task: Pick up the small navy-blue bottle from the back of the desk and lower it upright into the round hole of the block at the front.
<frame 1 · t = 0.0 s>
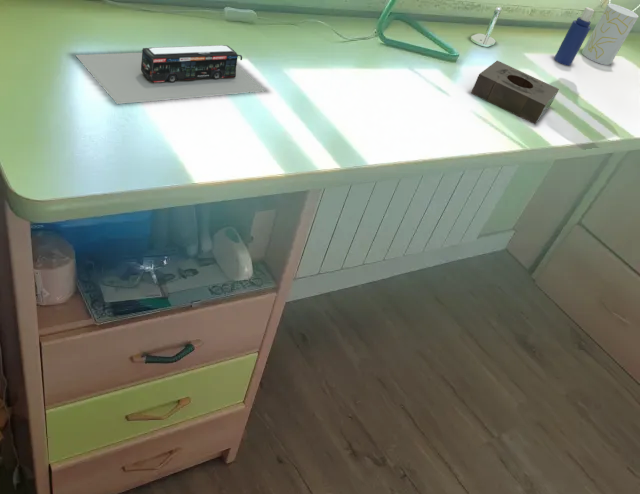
bottle: (562, 61, 150), on the table
stand: (482, 41, 146), on the table
block: (510, 100, 122), on the table
grey square mat: (174, 75, 94), on the table
cup: (595, 58, 160), on the table
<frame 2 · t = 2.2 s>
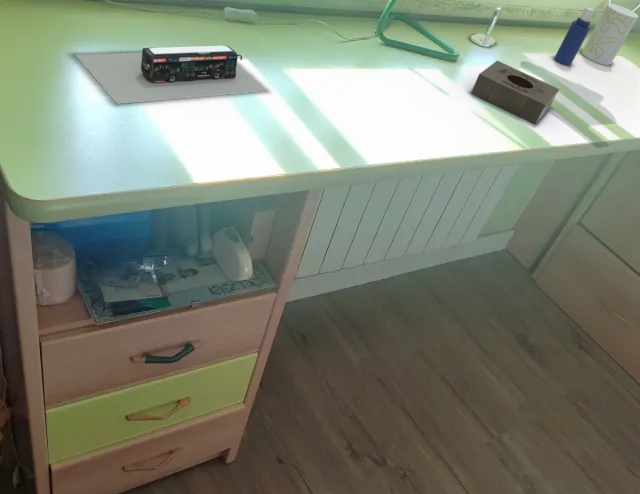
nothing on the table moved.
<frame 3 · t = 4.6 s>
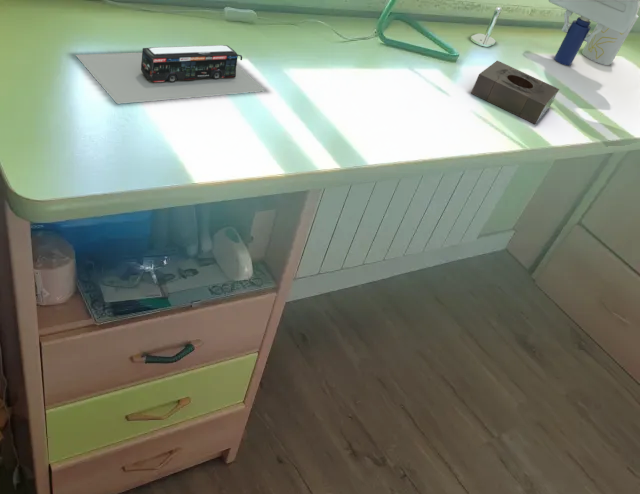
hand: (575, 36, 146), 6 cm above the table, tool pointing down, fingers closed on bottle, 4 cm apart
bottle: (562, 61, 150), on the table, touching gripper
everything else where it was.
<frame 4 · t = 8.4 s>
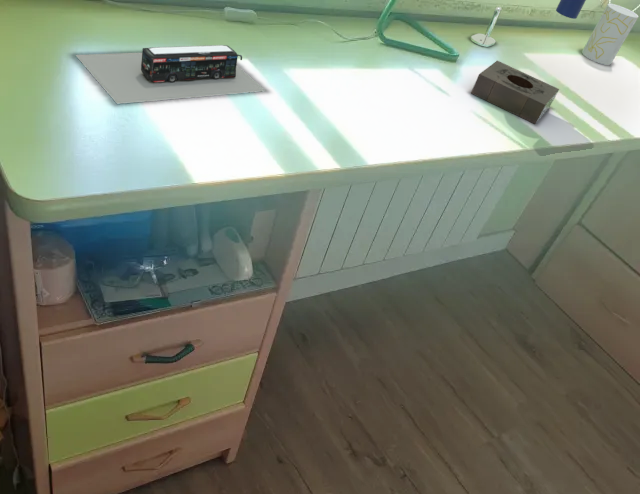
bottle: (566, 14, 121), point 15 cm above the table, touching gripper
everything else where it was.
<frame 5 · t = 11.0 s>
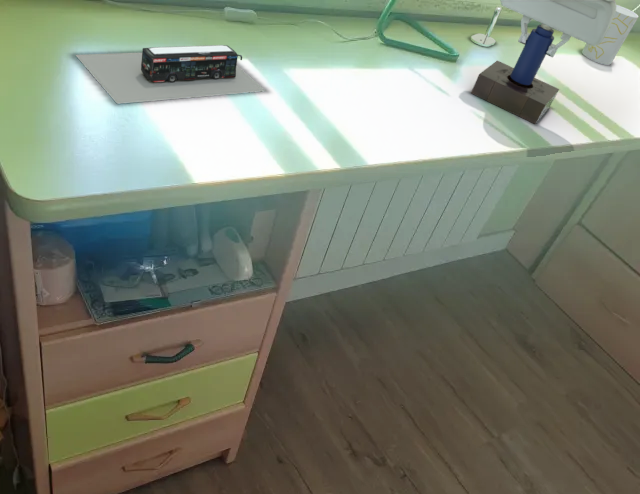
hand: (536, 49, 115), 10 cm above the table, tool pointing down, fingers closed on bottle, 4 cm apart
bottle: (520, 79, 119), point 4 cm above the table, touching gripper
everything else where it was.
when the fingers open (6 cm above the table, at t = 12.6 s): bottle stays where it is, resting in block.
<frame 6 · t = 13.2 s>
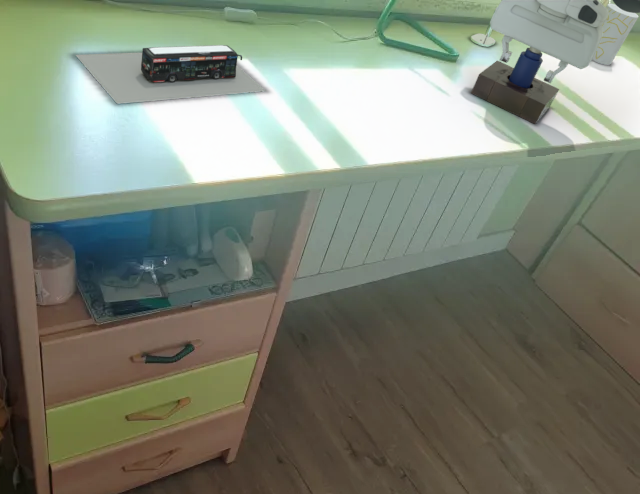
hand: (525, 71, 118), 6 cm above the table, tool pointing down, fingers open, 8 cm apart
bottle: (510, 100, 122), resting in block
everything else where it was.
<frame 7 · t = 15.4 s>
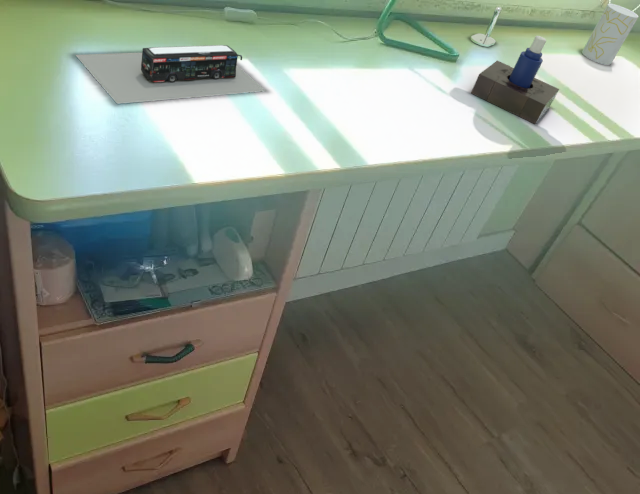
nothing on the table moved.
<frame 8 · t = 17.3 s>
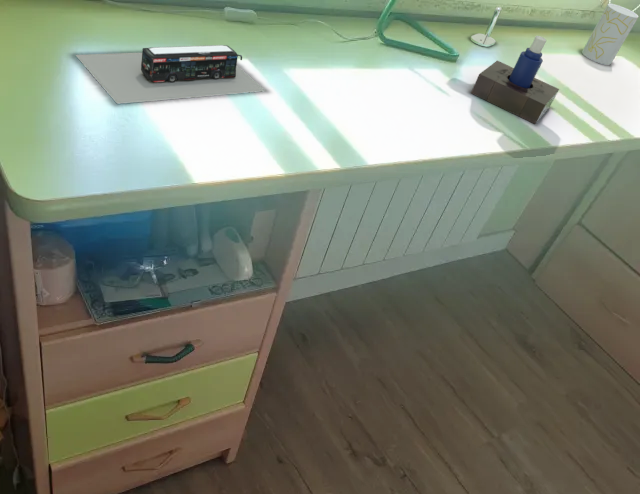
nothing on the table moved.
at the end: bottle 0.1 cm off-centre in the block, point 0.0 cm above the block's base; bottle tilted 0°; the gripper is holding nothing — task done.
